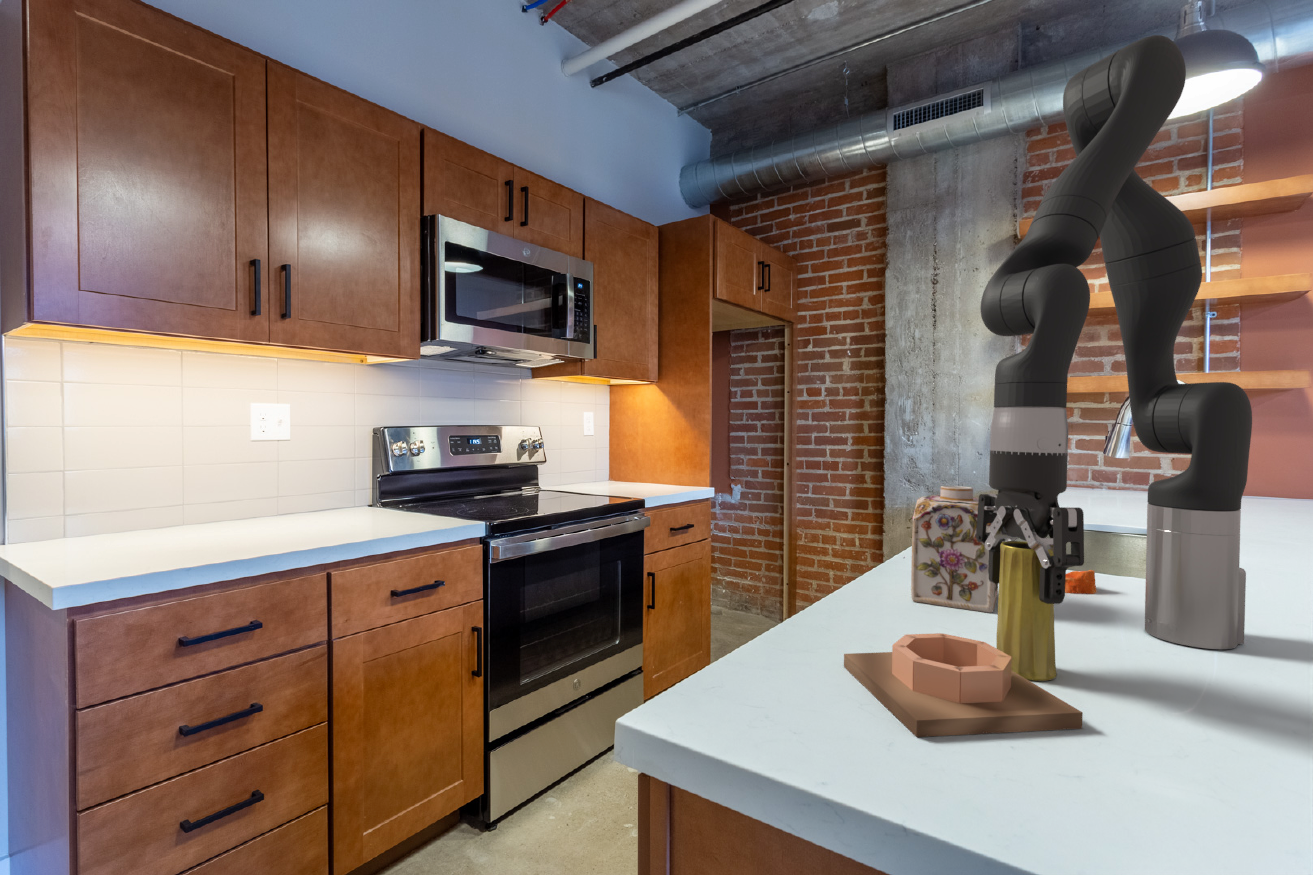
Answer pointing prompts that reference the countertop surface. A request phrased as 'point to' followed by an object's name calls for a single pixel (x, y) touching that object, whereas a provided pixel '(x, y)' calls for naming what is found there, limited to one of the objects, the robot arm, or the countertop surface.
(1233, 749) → the countertop surface
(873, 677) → the board
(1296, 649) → the countertop surface
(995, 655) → the holder ring
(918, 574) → the decorative jar
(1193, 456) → the robot arm
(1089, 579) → the rock
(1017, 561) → the vase
